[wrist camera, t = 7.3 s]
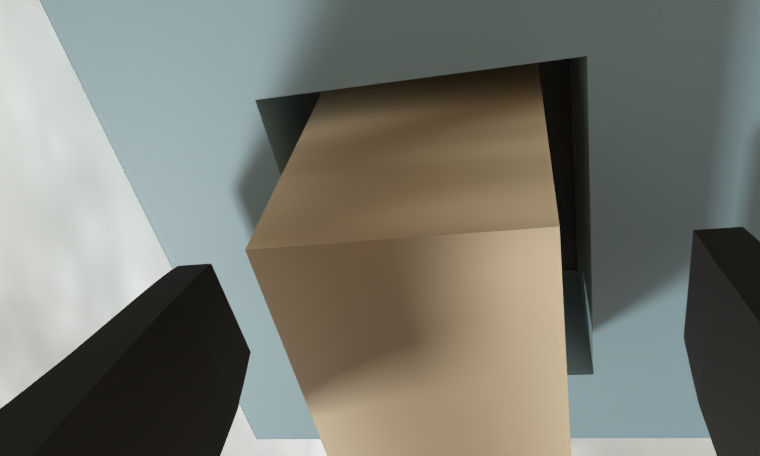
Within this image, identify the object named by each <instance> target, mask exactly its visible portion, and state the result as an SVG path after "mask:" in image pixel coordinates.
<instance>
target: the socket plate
mask: <svg viewBox="0 0 760 456" xmlns="http://www.w3.org/2000/svg"><path fill="white" fill-rule="evenodd" d="M40 2H41V4H42V6H43V8H44V10H45V12H46V14H47V16H48V18H49V20H50V22H51V25H52V27H53V29H54V31H55V33H56V35H57V37H58V39H59V41H60V43H61V45H62V47H63V49H64V51H65V53H66V55H67V57H68V59H69V61H70V63H71V65H72V67H73V69H74V71H75V73H76V75H77V77H78V79H79V81H80V83H81V85H82V87H83V89H84V91H85V93H86V95H87V97H88V99H89V101H90V103H91V105H92V107H93V109H94V111H95V113H96V115H97V117H98V119H99V121H100V124H101V126H102V128H103V130H104V132H105V134H106V136H107V138H108V140H109V142H110V144H111V146H112V148H113V150H114V152H115V154H116V156H117V158H118V160H119V162H120V164H121V166H122V168H123V170H124V172H125V174H126V176H127V178H128V180H129V182H130V184H131V186H132V188H133V190H134V192H135V194H136V196H137V198H138V200H139V202H140V204H141V206H142V208H143V210H144V212H145V214H146V216H147V218H148V220H149V222H150V225H151V227H152V229H153V231H154V233H155V235H156V237H157V239H158V241H159V243H160V245H161V247H162V249H163V251H164V253H165V255H166V257H167V259H168V261H169V263H170V265H171V267H172V269H174V268H175V267H177V266H183V265H198V264H212V266H213V269H214V271H215V273H216V275H217V278H218V280H219V282H220V284H221V287H222V289H223V291H224V293H225V296H226V298H227V300H228V302H229V304H230V307H231V309H232V311H233V313H234V316H235V318H236V320H237V322H238V325H239V327H240V329H241V331H242V334H243V336H244V338H245V340H246V343H247V345H248V347H249V349H250V352H251V353H250V358H249V362H248V367H247V372H246V376H245V381H244V385H243V389H242V393H241V397H240V401H239V404H240V406H241V408H242V410H243V412H244V414H245V416H246V418H247V420H248V423H249V425H250V427H251V429H252V431H253V433H254V435H255V437H256V439H321V438H320V436H319V433H318V431H317V428H316V426H315V423H314V421H313V418H312V416H311V413H310V411H309V408H308V406H307V404H306V401H305V399H304V396H303V394H302V391H301V389H300V386H299V384H298V381H297V379H296V376H295V374H294V371H293V369H292V366H291V364H290V361H289V359H288V356H287V354H286V351H285V349H284V346H283V344H282V341H281V339H280V336H279V334H278V331H277V329H276V326H275V324H274V321H273V319H272V316H271V314H270V311H269V309H268V306H267V304H266V301H265V299H264V296H263V294H262V291H261V289H260V286H259V284H258V281H257V279H256V276H255V274H254V271H253V269H252V266H251V264H250V261H249V259H248V256H247V254H246V251H245V249H246V247H247V245H248V243H249V241H250V239H251V237H252V234H253V232H254V230H255V228H256V226H257V224H258V222H259V220H260V218H261V216H262V214H263V212H264V210H265V208H266V206H267V204H268V202H269V200H270V198H271V196H272V194H273V192H274V189H275V187H276V185H277V183H278V181H279V179H280V177H281V175H282V173H283V171H284V169H285V167H286V165H287V163H288V161H289V159H290V157H291V155H292V153H293V151H294V149H295V146H296V144H297V142H298V140H299V138H300V136H301V134H302V132H303V130H304V128H305V126H306V124H307V122H308V120H309V118H310V116H311V114H312V112H313V110H314V108H315V106H316V104H317V101H318V99H319V97H320V95H321V93H320V91H327V90H335V89H342V88H350V87H357V86H365V85H372V84H380V83H388V82H395V81H403V80H410V79H418V78H425V77H433V76H440V75H448V74H455V73H463V72H471V71H478V70H486V69H493V68H501V67H508V66H516V65H523V64H531V63H539V62H546V61H554V60H561V59H569V58H570V70H571V99H572V127H573V155H574V183H575V211H576V239H577V267H578V270H565V271H562V282H563V302H564V322H565V342H566V362H567V382H568V402H569V422H570V438H711V437H710V434H709V432H708V429H707V426H706V423H705V420H704V418H703V415H702V412H701V409H700V406H699V403H698V399H697V395H696V391H695V386H694V382H693V378H692V374H691V369H690V364H689V360H688V355H687V351H686V346H685V341H684V327H685V316H686V305H687V294H688V283H689V272H690V261H691V250H692V239H693V230H702V229H716V228H731V227H744V228H745V229H746V230H747V231H748V232H750V233H751V234H752V235H753V236H754V237H755V238H757V239H758V240H759V241H760V0H40Z"/></svg>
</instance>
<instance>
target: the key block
mask: <svg viewBox="0 0 760 456" xmlns="http://www.w3.org/2000/svg"><path fill="white" fill-rule="evenodd" d="M245 251H246V254H247V256H248V259H249V261H250V264H251V266H252V269H253V271H254V274H255V276H256V279H257V281H258V284H259V286H260V289H261V291H262V294H263V296H264V299H265V301H266V304H267V306H268V309H269V311H270V314H271V316H272V319H273V321H274V324H275V326H276V329H277V331H278V334H279V336H280V339H281V341H282V344H283V346H284V349H285V351H286V354H287V356H288V359H289V361H290V364H291V366H292V369H293V371H294V374H295V376H296V379H297V381H298V384H299V386H300V389H301V391H302V394H303V396H304V399H305V401H306V404H307V406H308V408H309V411H310V413H311V416H312V418H313V421H314V423H315V426H316V428H317V431H318V433H319V436H320V438H321V441H322V443H323V446H324V448H325V451H326V453H327V456H571V442H570V422H569V402H568V382H567V362H566V342H565V322H564V302H563V282H562V263H561V243H560V225H559V217H558V210H557V202H556V195H555V187H554V180H553V172H552V165H551V157H550V150H549V142H548V135H547V127H546V120H545V112H544V105H543V97H542V90H541V82H540V74H539V67H538V63H531V64H523V65H516V66H508V67H501V68H493V69H486V70H478V71H471V72H463V73H455V74H448V75H440V76H433V77H425V78H418V79H410V80H403V81H395V82H388V83H380V84H372V85H365V86H357V87H350V88H342V89H335V90H327V91H322V93H321V95H320V97H319V99H318V101H317V104H316V106H315V108H314V110H313V112H312V114H311V116H310V118H309V120H308V122H307V124H306V126H305V128H304V130H303V132H302V134H301V136H300V138H299V140H298V142H297V144H296V146H295V149H294V151H293V153H292V155H291V157H290V159H289V161H288V163H287V165H286V167H285V169H284V171H283V173H282V175H281V177H280V179H279V181H278V183H277V185H276V187H275V189H274V192H273V194H272V196H271V198H270V200H269V202H268V204H267V206H266V208H265V210H264V212H263V214H262V216H261V218H260V220H259V222H258V224H257V226H256V228H255V230H254V232H253V234H252V237H251V239H250V241H249V243H248V245H247V247H246V249H245Z"/></svg>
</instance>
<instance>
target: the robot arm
mask: <svg viewBox="0 0 760 456" xmlns="http://www.w3.org/2000/svg"><path fill="white" fill-rule="evenodd" d="M684 341H685V346H686V351H687V355H688V360H689V364H690V369H691V374H692V378H693V382H694V386H695V391H696V395H697V399H698V403H699V406H700V409H701V412H702V415H703V418H704V420H705V423H706V426H707V429H708V432H709V434H710V437H711V440H712V443H713V445H714V448H715V451H716V454H717V456H760V241H759V240H758V239H757V238H755V237H754V236H753V235H752V234H751V233H750V232H748V231H747V230H746V229H745V228H744V227H731V228H716V229H702V230H693V239H692V250H691V261H690V272H689V283H688V294H687V305H686V316H685V327H684ZM250 353H251V352H250V349H249V347H248V345H247V343H246V340H245V338H244V336H243V334H242V331H241V329H240V327H239V325H238V322H237V320H236V318H235V316H234V313H233V311H232V309H231V307H230V304H229V302H228V300H227V298H226V296H225V293H224V291H223V289H222V287H221V284H220V282H219V280H218V278H217V275H216V273H215V271H214V269H213V266H212V264H198V265H183V266H177V267H175V268H174V269H173V270H171V271H170V272H168V273H167V274H166V275H164V276H163V277H162V278H160V279H159V280H158V281H157V282H155V283H154V284H153V285H152V286H150V287H149V288H148V289H147V290H146V291H144V292H143V293H142V294H141V295H140V296H138V297H137V298H136V299H135V300H134V301H132V302H131V303H130V304H129V305H128V306H126V307H125V308H124V309H123V310H122V311H121V312H119V313H118V314H117V315H116V316H115V317H114V318H112V319H111V320H110V321H109V322H108V323H106V324H105V325H104V326H103V327H102V328H100V329H99V330H98V331H97V332H96V333H95V334H93V335H92V336H91V337H90V338H89V339H87V340H86V341H85V342H84V343H83V344H81V345H80V346H79V347H78V348H77V349H76V350H74V351H73V352H72V353H71V354H70V355H68V356H67V357H66V358H65V359H63V360H62V361H61V362H60V363H58V364H57V365H56V366H54V367H53V368H52V369H51V370H49V371H48V372H47V373H46V374H44V375H43V376H42V377H41V378H39V379H38V380H37V381H35V382H34V383H33V384H32V385H30V386H29V387H28V388H27V389H25V390H24V391H23V392H22V393H20V394H19V395H18V396H16V397H15V398H14V399H13V400H11V401H10V402H9V403H8V404H6V405H5V406H4V407H2V408H1V409H0V456H220V454H221V452H222V449H223V446H224V444H225V441H226V438H227V436H228V433H229V431H230V428H231V425H232V423H233V420H234V417H235V414H236V412H237V409H238V405H239V401H240V397H241V393H242V389H243V385H244V381H245V376H246V372H247V367H248V362H249V358H250Z"/></svg>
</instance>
